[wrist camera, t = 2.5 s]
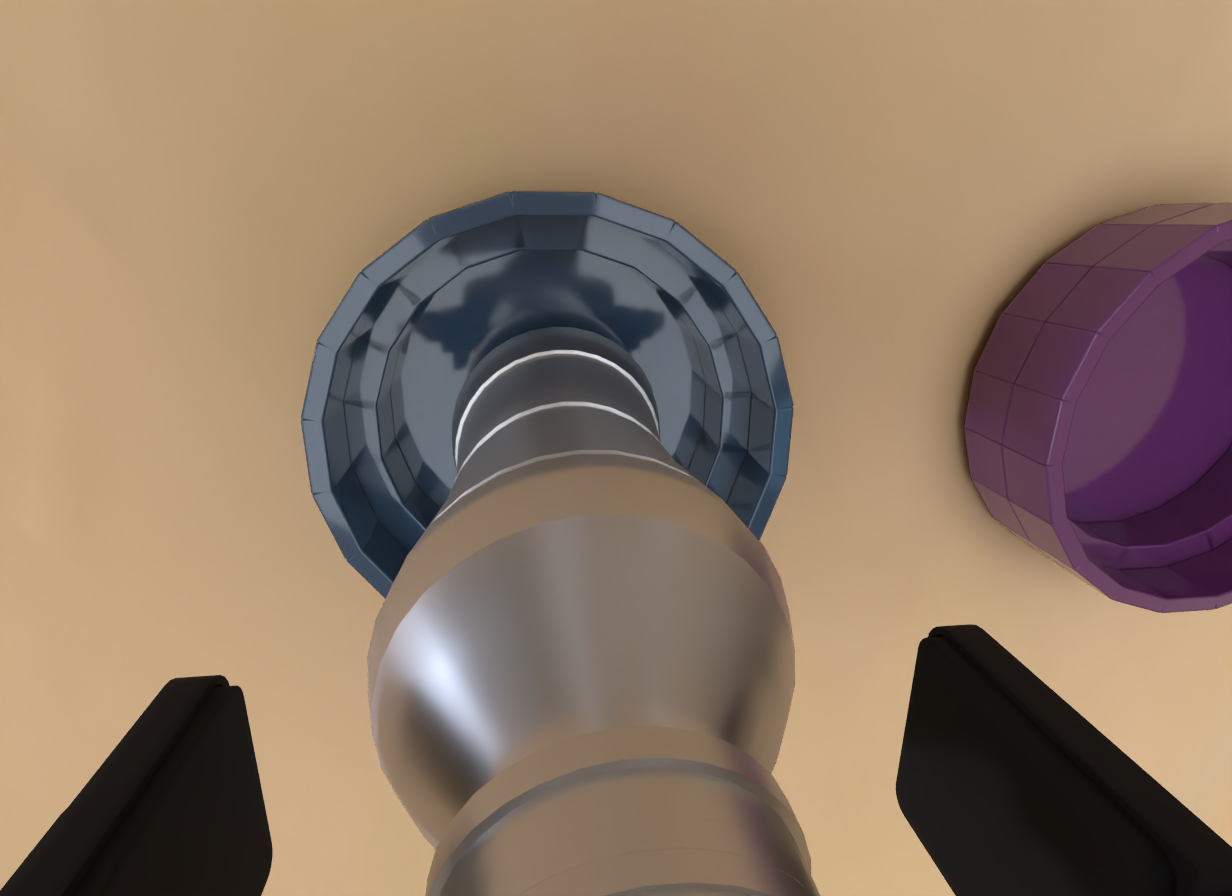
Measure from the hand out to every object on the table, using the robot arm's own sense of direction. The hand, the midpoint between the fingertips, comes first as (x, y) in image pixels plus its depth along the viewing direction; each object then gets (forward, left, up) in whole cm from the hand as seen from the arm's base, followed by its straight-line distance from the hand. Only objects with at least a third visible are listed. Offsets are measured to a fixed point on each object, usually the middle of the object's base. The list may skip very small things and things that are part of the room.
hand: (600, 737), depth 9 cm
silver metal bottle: (0, 0, -16) cm, 16 cm away
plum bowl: (0, +23, -16) cm, 28 cm away
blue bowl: (0, 0, -16) cm, 16 cm away
